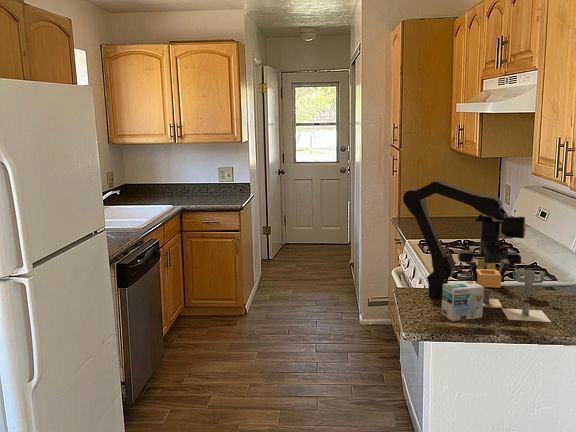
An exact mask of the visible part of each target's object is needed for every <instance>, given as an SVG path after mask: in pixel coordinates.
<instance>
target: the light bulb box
mask: <svg viewBox="0 0 576 432" xmlns="http://www.w3.org/2000/svg"><path fill="white" fill-rule="evenodd" d="M484 290H485V287H483V286H481V285H479V284H476V282H475V281H473V280H468V281H461V282H460V281H459V282H448V283H447V284H443V291H442V298H441V314H440V315H442V316H444V317H445V318H447V319H448V320H450V321H451V322H450V323H451V324H459V322H457V321H462V320H463V321H465V320H472V319H473V320H474V319H480V318H481V319H482V318H483V308H484V307H483V294H484Z"/></svg>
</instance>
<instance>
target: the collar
mask: <svg viewBox="0 0 576 432" xmlns="http://www.w3.org/2000/svg"><path fill="white" fill-rule="evenodd" d="M476 272H477V282H475V283H476V284H479V285H481V286H483V287H484V288H501V287H502V280H501V274H500V273H499V269H495V270H489V269H477V268H476Z"/></svg>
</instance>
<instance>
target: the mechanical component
mask: <svg viewBox="0 0 576 432" xmlns="http://www.w3.org/2000/svg"><path fill="white" fill-rule="evenodd" d="M521 275H522V276H521ZM512 276H514V278H515V279H516V281H517V282H518V283H522V284H524V285H523V287H525V294H524V296H525V298H531V291H532V290H531V289H532V288H533V287H534V286H533V284H542V283H543V282H544V279H545V278H546V277H547V272H546V271H542V270H541V271H540V272H539V274H536V273H535V270H533V269H517V268H515V269H514V270H512Z"/></svg>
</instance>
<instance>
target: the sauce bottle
mask: <svg viewBox="0 0 576 432" xmlns="http://www.w3.org/2000/svg"><path fill="white" fill-rule="evenodd" d="M478 253H480V249H479V250H478ZM482 257H483V256H482ZM476 269H489V270H496V263H485V261H484V259H477V264H476Z"/></svg>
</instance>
